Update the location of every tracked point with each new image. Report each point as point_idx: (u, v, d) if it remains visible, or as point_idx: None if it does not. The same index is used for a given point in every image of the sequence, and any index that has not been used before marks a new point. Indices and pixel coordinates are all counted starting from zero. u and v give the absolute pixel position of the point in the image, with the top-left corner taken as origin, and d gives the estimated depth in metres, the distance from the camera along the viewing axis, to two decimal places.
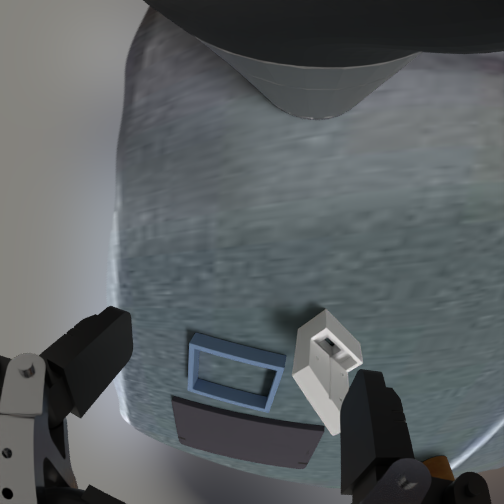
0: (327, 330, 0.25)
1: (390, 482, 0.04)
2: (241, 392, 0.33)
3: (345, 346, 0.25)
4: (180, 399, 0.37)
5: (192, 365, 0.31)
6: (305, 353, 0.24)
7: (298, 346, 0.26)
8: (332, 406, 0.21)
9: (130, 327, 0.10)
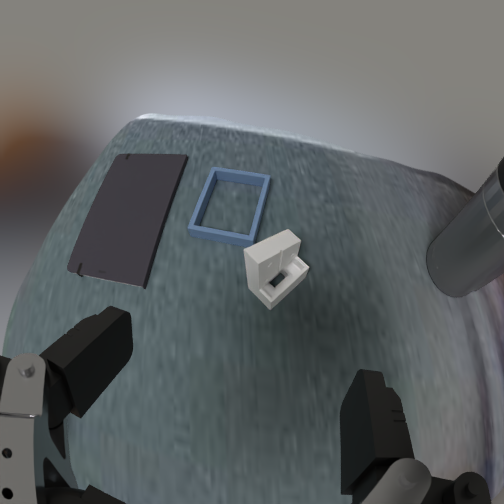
0: (306, 268, 0.32)
1: (390, 482, 0.04)
2: (203, 210, 0.39)
3: (290, 284, 0.31)
4: (185, 162, 0.43)
5: (245, 174, 0.39)
6: None
7: None
8: (274, 252, 0.26)
9: (130, 327, 0.10)
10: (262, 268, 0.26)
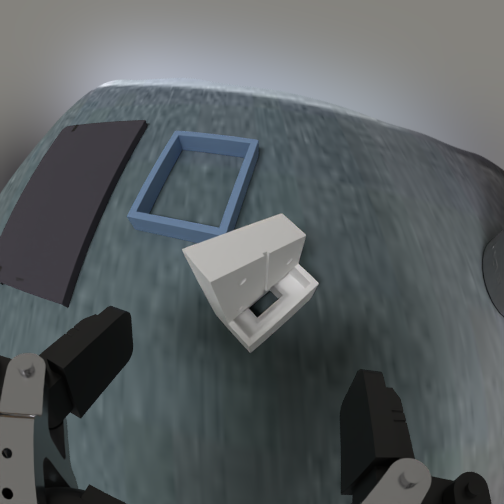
0: (314, 285, 0.18)
1: (390, 482, 0.04)
2: (157, 191, 0.25)
3: (285, 314, 0.17)
4: (143, 130, 0.29)
5: (221, 138, 0.25)
6: None
7: None
8: (250, 256, 0.13)
9: (130, 327, 0.10)
10: (225, 290, 0.12)
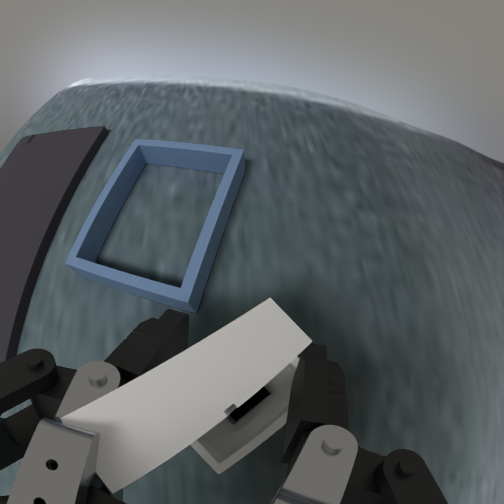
0: None
1: (313, 451, 0.05)
2: (109, 224, 0.18)
3: (273, 433, 0.10)
4: (102, 139, 0.22)
5: (193, 148, 0.18)
6: None
7: None
8: (198, 421, 0.05)
9: (187, 329, 0.10)
10: None
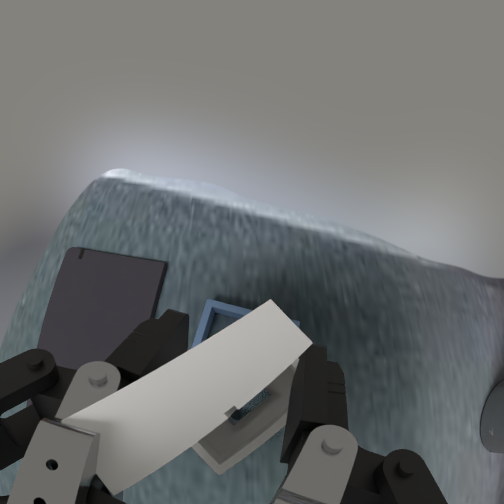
0: None
1: (313, 451, 0.05)
2: None
3: (273, 434, 0.10)
4: (163, 275, 0.28)
5: None
6: None
7: None
8: (198, 423, 0.05)
9: (187, 329, 0.10)
10: None
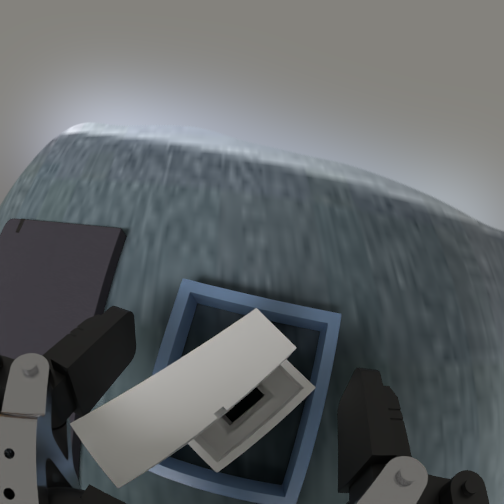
0: (308, 390, 0.11)
1: (386, 480, 0.04)
2: None
3: (266, 433, 0.11)
4: (120, 248, 0.18)
5: (274, 309, 0.14)
6: None
7: None
8: (191, 423, 0.06)
9: (133, 327, 0.10)
10: (157, 463, 0.06)
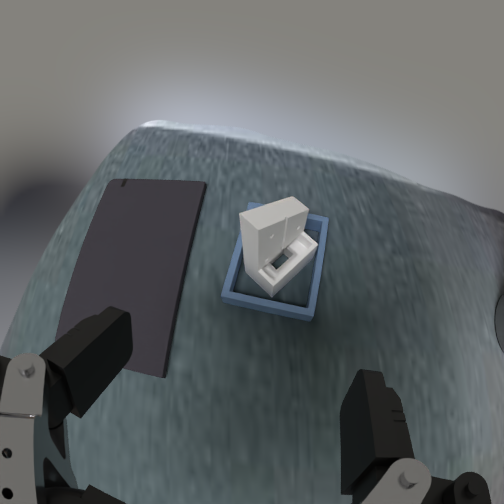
0: (315, 245, 0.26)
1: (390, 482, 0.04)
2: (239, 265, 0.29)
3: (296, 264, 0.26)
4: (204, 192, 0.33)
5: None
6: None
7: None
8: (277, 218, 0.21)
9: (130, 327, 0.10)
10: (263, 239, 0.21)
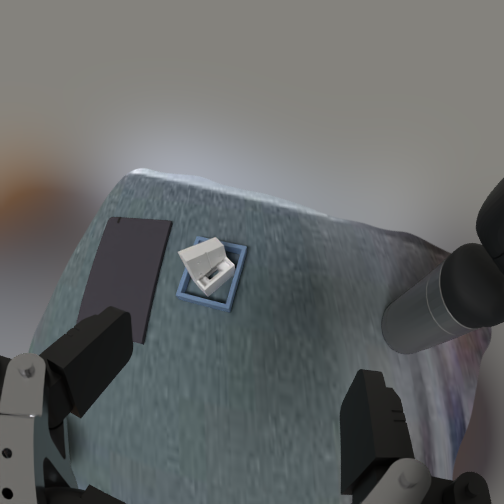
0: (232, 265, 0.43)
1: (390, 482, 0.04)
2: (189, 276, 0.45)
3: (219, 277, 0.42)
4: (170, 228, 0.50)
5: (225, 244, 0.46)
6: None
7: None
8: (200, 253, 0.38)
9: (130, 327, 0.10)
10: (192, 265, 0.38)
